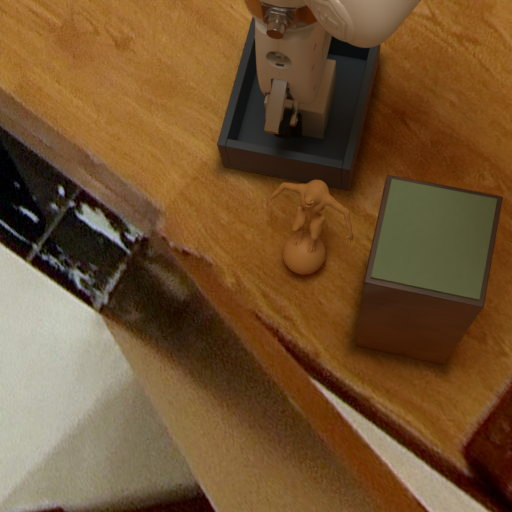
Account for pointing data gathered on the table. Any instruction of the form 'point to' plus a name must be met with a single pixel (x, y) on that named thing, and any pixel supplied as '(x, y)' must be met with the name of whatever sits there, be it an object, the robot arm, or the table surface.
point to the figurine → (305, 243)
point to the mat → (434, 239)
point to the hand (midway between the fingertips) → (297, 86)
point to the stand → (417, 304)
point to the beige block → (318, 104)
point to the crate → (305, 148)
